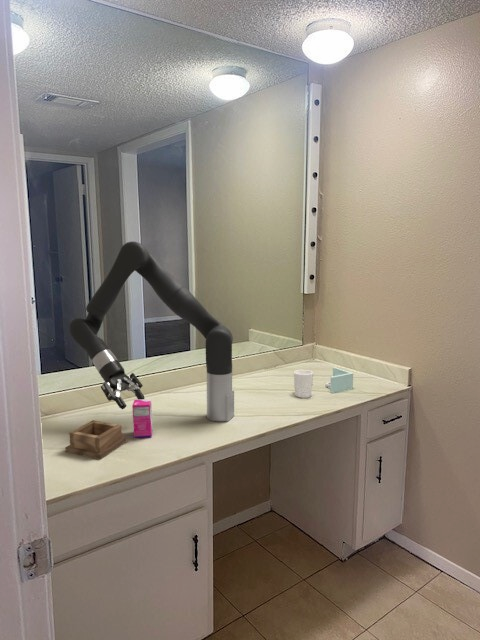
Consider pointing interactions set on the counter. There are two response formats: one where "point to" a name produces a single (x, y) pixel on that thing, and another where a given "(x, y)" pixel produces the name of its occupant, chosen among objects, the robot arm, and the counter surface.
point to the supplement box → (142, 418)
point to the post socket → (95, 439)
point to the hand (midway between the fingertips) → (133, 404)
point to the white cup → (303, 383)
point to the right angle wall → (340, 380)
